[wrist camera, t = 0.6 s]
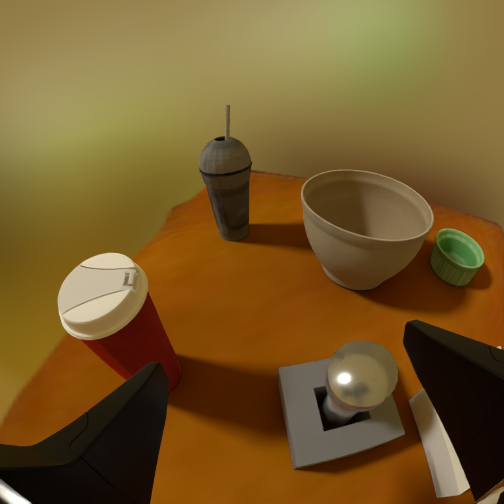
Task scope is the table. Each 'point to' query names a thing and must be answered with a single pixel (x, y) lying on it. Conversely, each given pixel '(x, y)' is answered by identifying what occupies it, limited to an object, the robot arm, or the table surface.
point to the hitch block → (310, 426)
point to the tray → (438, 448)
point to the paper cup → (116, 316)
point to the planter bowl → (363, 225)
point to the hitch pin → (357, 382)
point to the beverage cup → (228, 183)
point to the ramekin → (456, 257)
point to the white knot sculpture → (492, 497)
